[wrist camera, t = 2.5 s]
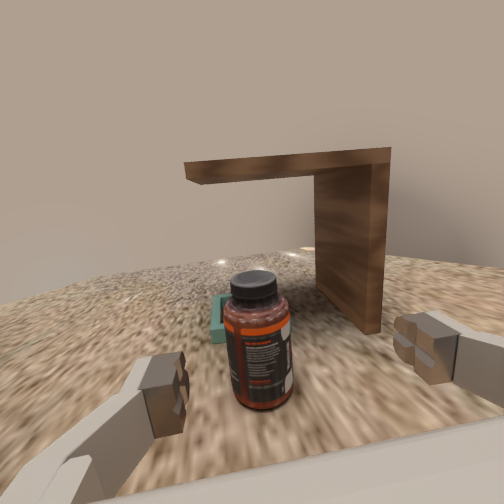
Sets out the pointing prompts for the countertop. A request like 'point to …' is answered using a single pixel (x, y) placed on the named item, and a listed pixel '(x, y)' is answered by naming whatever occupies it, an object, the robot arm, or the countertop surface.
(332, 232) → the wooden l-shaped bracket
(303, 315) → the countertop surface
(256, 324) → the supplement bottle
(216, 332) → the socket
